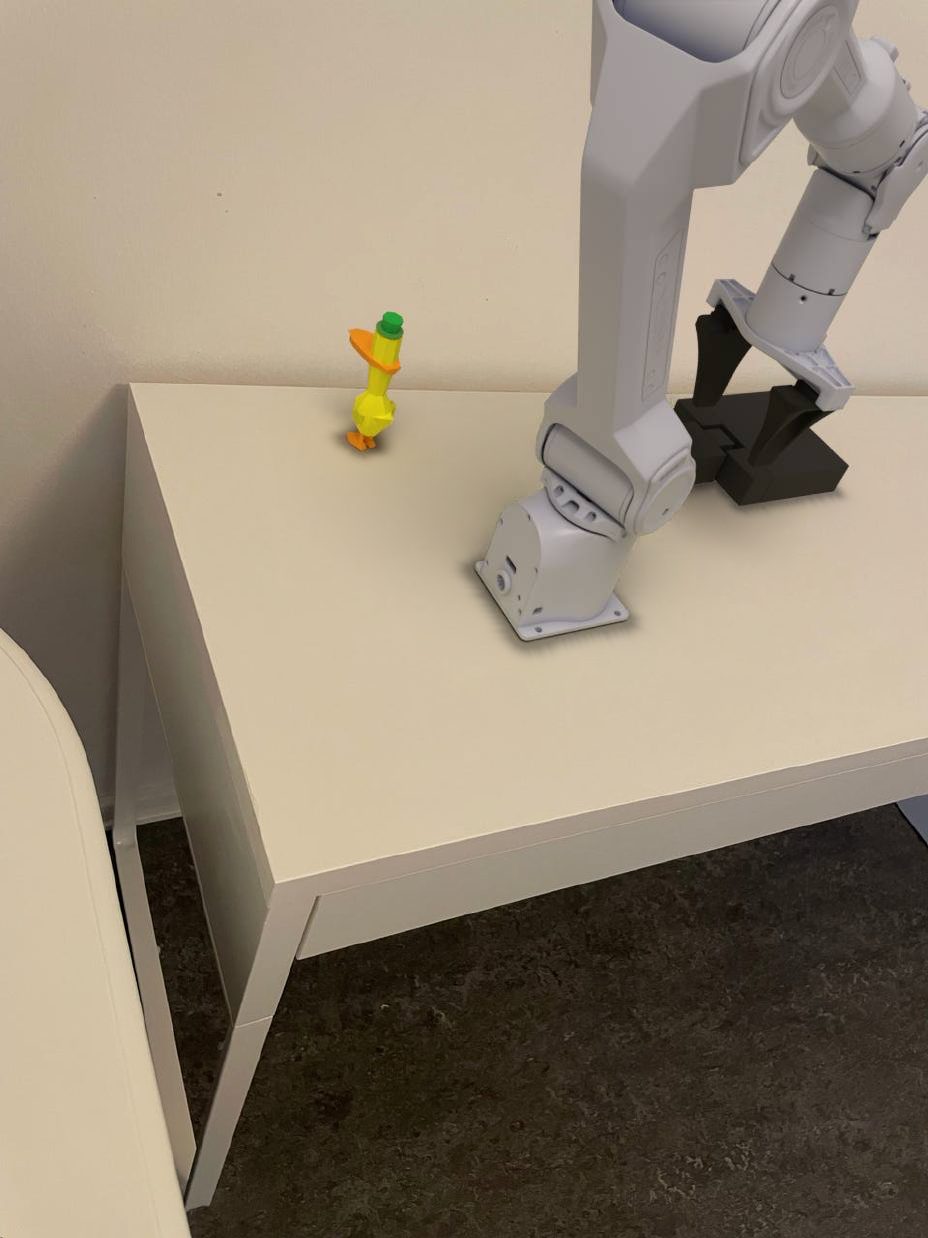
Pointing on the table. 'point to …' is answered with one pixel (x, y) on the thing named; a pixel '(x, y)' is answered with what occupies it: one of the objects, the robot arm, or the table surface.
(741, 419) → the big pad
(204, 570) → the table surface
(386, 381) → the toy figure
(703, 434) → the dark brown stepped block
